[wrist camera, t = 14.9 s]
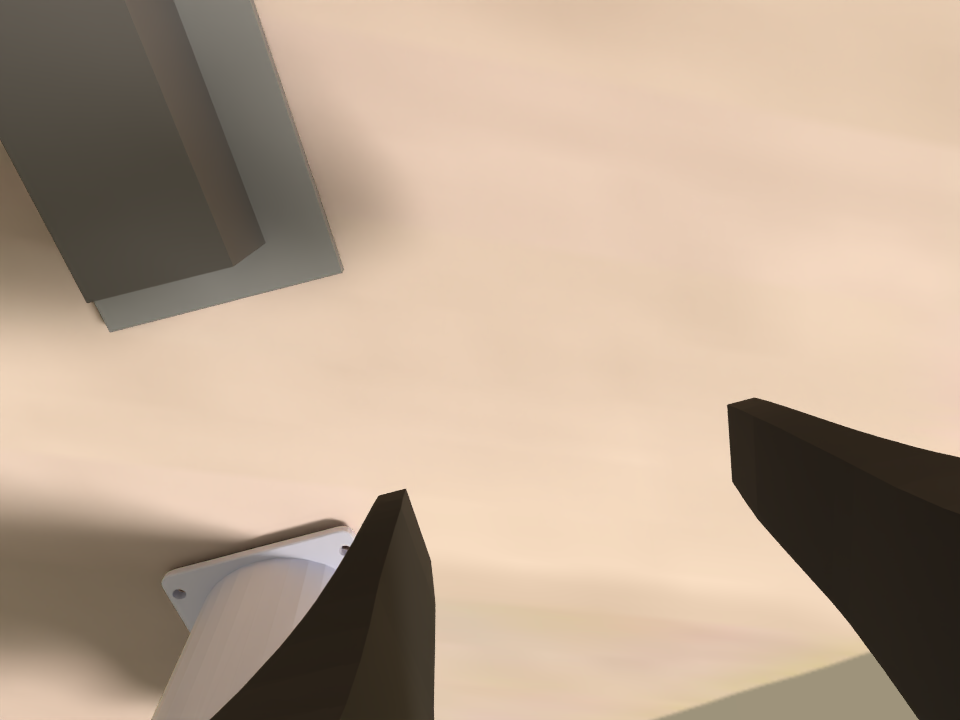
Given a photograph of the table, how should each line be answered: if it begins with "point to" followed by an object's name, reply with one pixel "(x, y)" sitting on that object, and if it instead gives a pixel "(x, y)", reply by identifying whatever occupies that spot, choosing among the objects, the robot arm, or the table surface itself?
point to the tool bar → (120, 143)
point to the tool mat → (245, 173)
